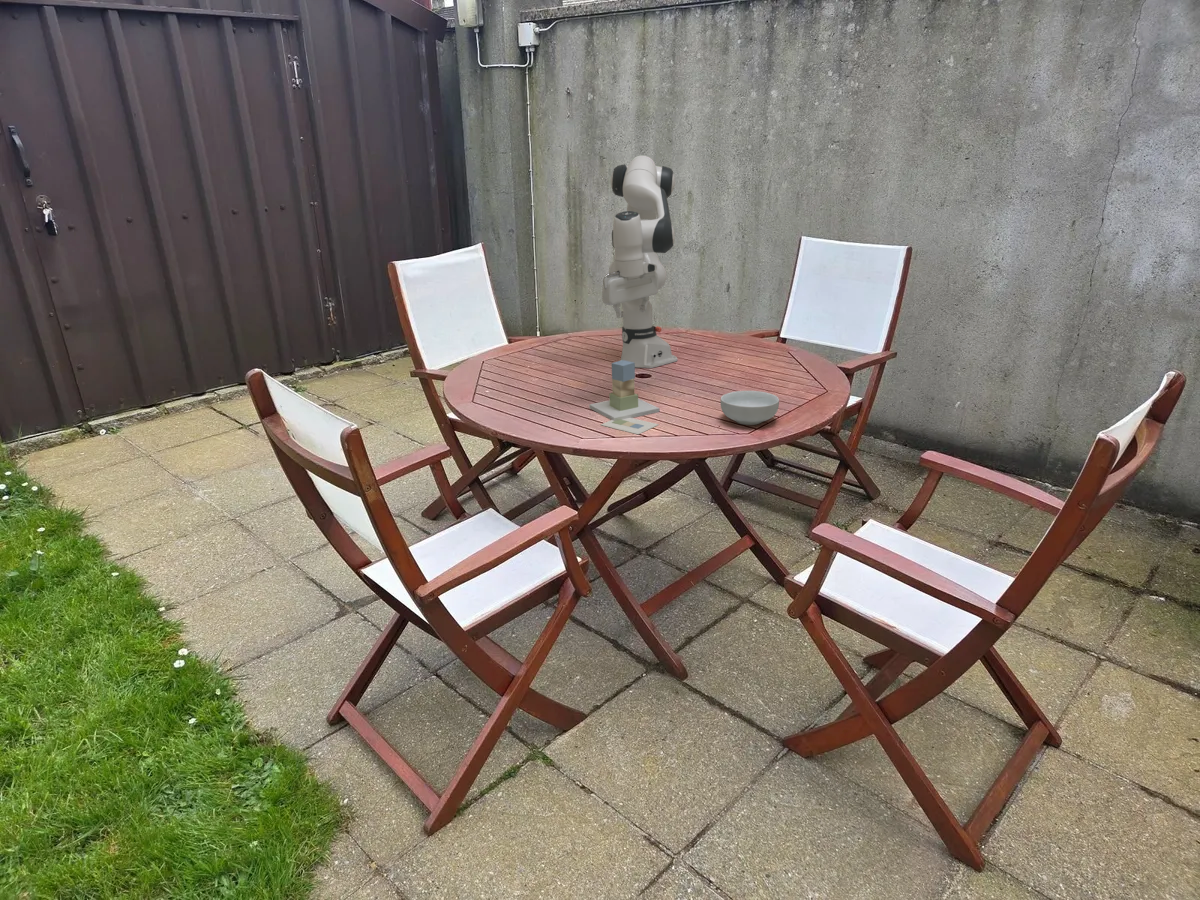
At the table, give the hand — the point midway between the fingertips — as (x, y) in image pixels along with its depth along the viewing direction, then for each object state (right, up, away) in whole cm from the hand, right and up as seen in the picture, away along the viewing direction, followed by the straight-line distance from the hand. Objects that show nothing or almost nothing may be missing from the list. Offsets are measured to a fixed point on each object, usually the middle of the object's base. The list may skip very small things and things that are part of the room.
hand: (631, 314), depth 229 cm
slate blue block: (-2, -20, +1) cm, 20 cm away
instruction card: (-1, -34, -8) cm, 35 cm away
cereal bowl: (+34, -33, -8) cm, 48 cm away
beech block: (-2, -24, +3) cm, 25 cm away
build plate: (-2, -29, +5) cm, 30 cm away
